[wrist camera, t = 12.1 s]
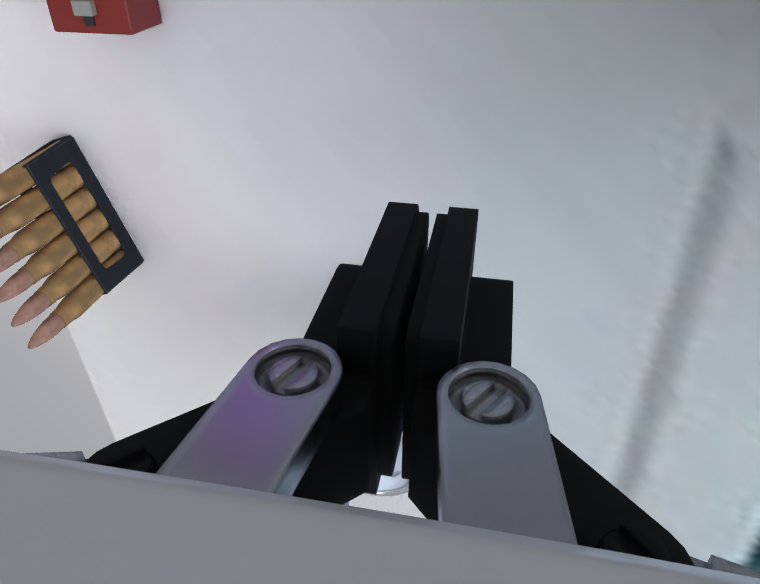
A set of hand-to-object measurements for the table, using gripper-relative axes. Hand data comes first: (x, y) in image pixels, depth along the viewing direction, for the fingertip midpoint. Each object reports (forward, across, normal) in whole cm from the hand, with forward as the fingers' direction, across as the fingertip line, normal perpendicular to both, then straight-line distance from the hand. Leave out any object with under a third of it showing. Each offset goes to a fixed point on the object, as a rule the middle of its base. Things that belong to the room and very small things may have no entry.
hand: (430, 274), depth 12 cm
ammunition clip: (+27, +28, +14) cm, 42 cm away
